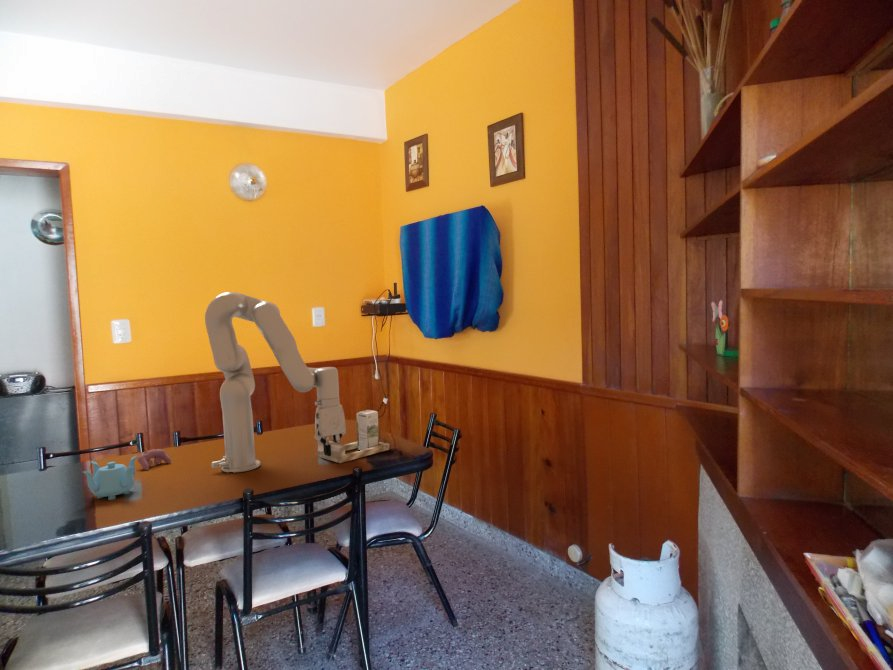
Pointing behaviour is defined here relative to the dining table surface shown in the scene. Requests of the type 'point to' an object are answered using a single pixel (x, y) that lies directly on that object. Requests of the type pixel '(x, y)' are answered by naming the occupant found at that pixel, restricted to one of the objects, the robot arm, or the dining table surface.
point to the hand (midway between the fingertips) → (331, 453)
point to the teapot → (111, 479)
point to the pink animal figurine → (154, 453)
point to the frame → (339, 450)
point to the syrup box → (367, 429)
